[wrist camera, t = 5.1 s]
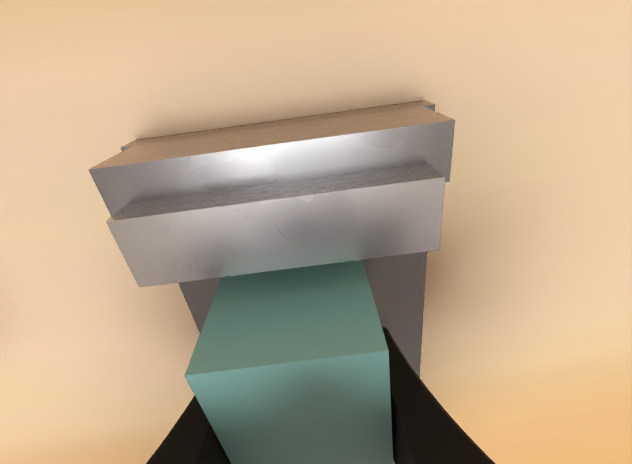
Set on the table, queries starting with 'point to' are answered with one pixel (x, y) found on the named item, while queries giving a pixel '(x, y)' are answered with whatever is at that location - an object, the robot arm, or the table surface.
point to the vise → (288, 204)
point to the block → (296, 368)
